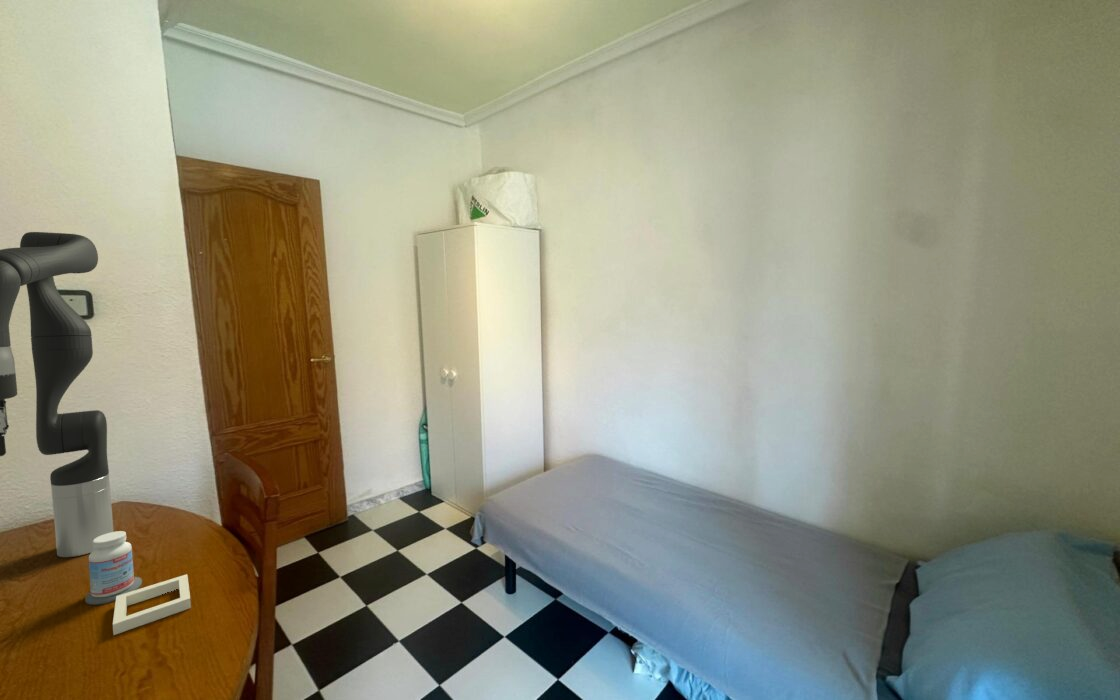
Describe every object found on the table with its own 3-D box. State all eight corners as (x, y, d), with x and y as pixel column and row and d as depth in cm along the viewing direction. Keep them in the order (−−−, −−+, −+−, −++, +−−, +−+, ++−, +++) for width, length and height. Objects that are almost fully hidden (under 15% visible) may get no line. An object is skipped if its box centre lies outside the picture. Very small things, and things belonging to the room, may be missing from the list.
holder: (117, 605, 83) (116, 596, 82) (187, 583, 90) (187, 574, 90) (113, 635, 75) (112, 624, 75) (190, 607, 82) (190, 598, 82)
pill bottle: (106, 601, 83) (102, 546, 82) (82, 596, 84) (78, 542, 83) (142, 582, 89) (138, 530, 88) (120, 578, 90) (116, 527, 89)
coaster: (87, 590, 87) (87, 588, 87) (142, 574, 92) (142, 572, 92) (83, 610, 81) (82, 607, 81) (141, 592, 87) (141, 589, 87)
